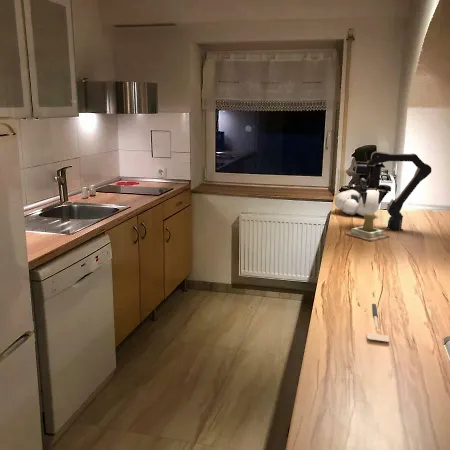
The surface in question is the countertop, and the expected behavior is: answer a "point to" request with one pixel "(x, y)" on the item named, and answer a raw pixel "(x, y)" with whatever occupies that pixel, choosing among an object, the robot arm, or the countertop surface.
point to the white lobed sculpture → (357, 202)
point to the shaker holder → (367, 234)
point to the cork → (368, 222)
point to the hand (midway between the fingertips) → (371, 203)
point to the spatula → (377, 336)
